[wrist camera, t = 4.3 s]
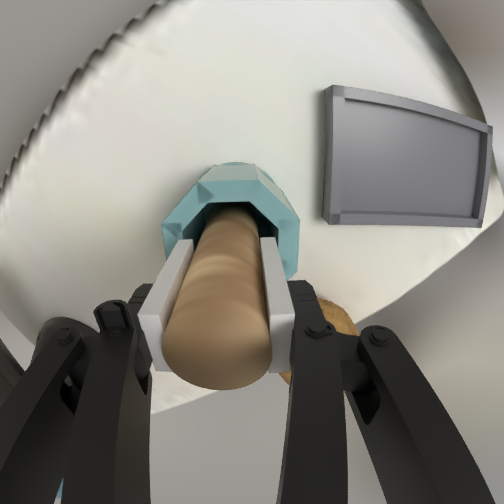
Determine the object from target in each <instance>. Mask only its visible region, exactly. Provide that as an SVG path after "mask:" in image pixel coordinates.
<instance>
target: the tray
mask: <svg viewBox="0 0 504 504" xmlns="http://www.w3.org/2000/svg"><path fill="white" fill-rule="evenodd" d="M492 130H493V128H492V126H489V125H487V124H485V123H482V122H480V121H477V120H475V119H472V118H470V117H467V116H464V115H462V114H459V113H456V112H453V111H450V110H447V109H444V108H441V107H437V106H434V105H431V104H427V103H424V102H420V101H416V100H412V99H408V98H404V97H400V96H396V95H391V94H386V93H382V92H376V91H371V90H365V89H359V88H353V87H346V86H338V85H332V86H330V87H328V88H326V89H325V166H324V191H323V209H322V217H323V218H324V219H325V221H326V222H327V223H328V224H329V225H412V226H447V227H473V228H482V223H483V218H484V212H485V207H486V201H487V194H488V187H489V179H490V169H491V157H492V134H493V133H492V132H493V131H492Z"/></svg>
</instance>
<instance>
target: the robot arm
mask: <svg viewBox="0 0 504 504" xmlns="http://www.w3.org/2000/svg"><path fill="white" fill-rule="evenodd" d="M193 255H194V247H193V239H186V240H178V242H177V244H176V245H175V247H174V249H173V250H172V252H171V254H170V256H169V257H168V259H167V261H166V263H165V264H164V266H163V268H162V270H161V272H160V273H159V275H158V277H157V279H156V281H155V283H154V284H142V285H141V286H140V287H139V288H137V289H136V290H135V292H134V293H133V295H132V298H130V300H129V302H128V303H126V302H124V301H122V300H110V301H106V302H104V303H102V304H100V305H99V306H97V307H96V308H95V310H94V311H93V312H94V315H95V318H96V321H97V323H98V326H99V329H100V333H99V334H98V333H97V332H96V331H94V330H93V329H91V328H89V327H88V326H86V325H84V324H82V323H80V322H78V321H75V320H72V319H68V318H53V319H51V320H49V321H48V322H47V323H46V324H45V326H44V327H43V328H42V329H41V331H40V332H39V334H38V337H37V342H36V347H35V351H34V353H33V356H32V360H31V364H30V366H29V367H28V369H27V370H26V371H24V370H23V368H22V367H21V366H20V365H19V363H18V362H17V361H16V359H15V358H14V357H13V355H12V354H11V353H10V351H9V350H8V349H7V347H6V346H5V344H4V343H3V342H2V340H1V339H0V504H54V501H55V498H59V499H61V504H151V499H150V474H149V437H150V408H151V390H152V375H151V372H150V370H149V369H150V366H151V363H152V362H153V364H154V367H155V370H156V371H166V372H173V371H172V370H171V369H170V368H169V366H168V365H167V363H166V362H165V360H164V357H163V355H162V350H161V344H162V339H163V336H164V333H165V330H166V327H167V325H168V322H169V319H170V316H171V313H172V311H173V308H174V305H175V302H176V300H177V297H178V294H179V292H180V289H181V286H182V284H183V281H184V278H185V276H186V273H187V271H188V268H189V266H190V263H191V260H192V258H193ZM260 255H261V263H262V272H263V281H264V289H265V298H266V306H267V315H268V324H269V333H270V339H271V344H272V355H273V356H272V362H271V365H270V367H269V369H268V371H269V373H277V372H289V369H290V366H291V379H290V388H289V402H288V414H287V423H286V433H285V442H284V450H283V458H282V466H281V474H280V481H279V489H278V495H277V502H276V504H348V468H347V467H348V465H347V439H346V422H345V421H346V420H345V406H344V394H343V391H345V393H346V396H347V398H348V401H349V403H350V406H351V408H352V411H353V413H354V416H355V418H356V421H357V423H358V426H359V429H360V431H361V434H362V436H363V439H364V441H365V444H366V447H367V449H368V452H369V455H370V457H371V460H372V463H373V465H374V468H375V471H376V473H377V476H378V479H379V482H380V485H381V487H382V490H383V493H384V496H385V499H386V501H387V504H495V502H494V499H493V497H492V495H491V493H490V490H489V488H488V486H487V484H486V482H485V480H484V478H483V476H482V474H481V472H480V470H479V468H478V466H477V464H476V462H475V460H474V458H473V456H472V455H471V453H470V451H469V449H468V448H467V445H466V444H465V442H464V440H463V438H462V436H461V435H460V433H459V431H458V429H457V428H456V426H455V424H454V423H453V421H452V419H451V418H450V416H449V414H448V413H447V411H446V409H445V408H444V406H443V404H442V403H441V401H440V400H439V398H438V396H437V395H436V393H435V392H434V390H433V389H432V387H431V385H430V384H429V382H428V381H427V379H426V378H425V376H424V375H423V373H422V372H421V370H420V369H419V367H418V366H417V365H416V363H415V361H414V360H413V358H412V357H411V355H410V354H409V353H408V351H407V350H406V348H405V347H404V346H403V344H402V343H401V341H400V340H399V339H398V337H397V336H396V334H395V333H394V332H393V331H392V330H390V329H388V328H386V327H383V326H378V325H376V326H369V327H366V328H364V329H363V330H362V331H361V334H360V336H357V335H349V334H343V333H340V332H337V331H336V329H335V326H334V325H333V324H331V323H330V322H329V321H326V319H325V317H324V314H323V312H322V309H321V307H320V304H319V302H318V300H317V297H316V295H315V291H314V289H313V287H312V285H310V284H309V283H308V282H307V281H306V280H297V281H286V277H285V273H284V269H283V265H282V262H281V258H280V254H279V250H278V247H277V243H276V239H275V237H262V238H260Z"/></svg>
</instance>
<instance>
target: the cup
mask: <svg viewBox="0 0 504 504" xmlns="http://www.w3.org/2000/svg"><path fill="white" fill-rule="evenodd" d="M242 201H250V202H251V203H252V204H253V205H254V206H255V212H256V220H257V228H258V236H259V244H260V238H262V237H275V239H276V243H277V247H278V250H279V254H280V258H281V262H282V265H283V269H284V273H285V277H286V281H287V280H288V279H289V278H290V277H292V276H293V275H294V274H295V273H296V272H297V263H298V245H299V224H300V219H299V218H298V216H297V214H296V213H295V211H294V209H293V208H292V206H291V204H290V203H289V201H288V199H287V198H286V196H285V194H284V193H283V191H282V190H281V189H280V188H279V187H278V186H277V185H276V184H275V183H274V181H273V180H272V179H271V177H270V176H269V175H268V174H267V173H265V172H264V171H263V170H261V169H260V168H258V167H257V166H256V165H255V164H247V163H242V162H231V163H225V164H222V165H214V166H213V167H212V168H211V169H210V170H209V171H208V172H207V173H206V174H204V175H203V176H202V177H201V178H200V179H199V180H198V181H197V183H196V184H195V185H194V187H193V188H192V189H191V190H190V191H189V192H188V193H187V195H186V196H185V197H184V198H183V199H182V200H181V201H180V203H179V204H178V205H177V206H176V207H175V209H174V210H173V211H172V212H171V213H170V214H169V215H168V217H167V218H166V219H165V220H164V221H163V222H162V224H161V225H162V231H163V239H164V246H165V252H166V259H168V257H169V256H170V254H171V252H172V250H173V249H174V247H175V245H176V244H177V242H178V240H186V239H193V247H194V253H195V250H196V248H197V245H198V243H199V241H200V238H201V236H202V233H203V231H204V228H205V226H206V224H207V221H208V219H209V216H210V214H211V212H212V209H213V207H214V205H215V202H242Z"/></svg>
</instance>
